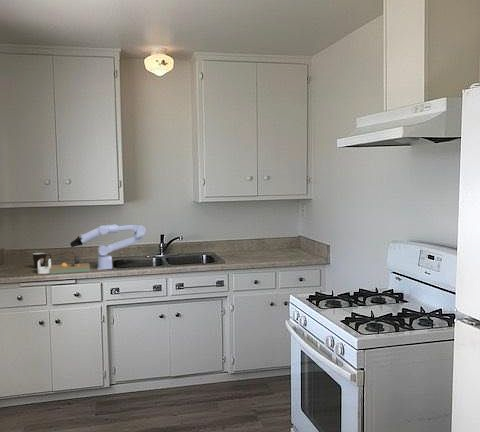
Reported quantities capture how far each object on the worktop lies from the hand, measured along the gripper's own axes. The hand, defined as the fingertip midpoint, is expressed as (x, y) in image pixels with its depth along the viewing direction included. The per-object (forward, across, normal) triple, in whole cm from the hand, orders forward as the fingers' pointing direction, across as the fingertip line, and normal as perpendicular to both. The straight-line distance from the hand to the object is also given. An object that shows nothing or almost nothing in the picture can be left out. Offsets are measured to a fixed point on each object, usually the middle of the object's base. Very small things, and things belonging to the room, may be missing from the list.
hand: (70, 245), depth 335 cm
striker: (+3, 0, +16) cm, 16 cm away
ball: (+10, 0, +10) cm, 14 cm away
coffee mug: (+25, -20, +8) cm, 33 cm away
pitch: (+11, 0, +14) cm, 18 cm away
